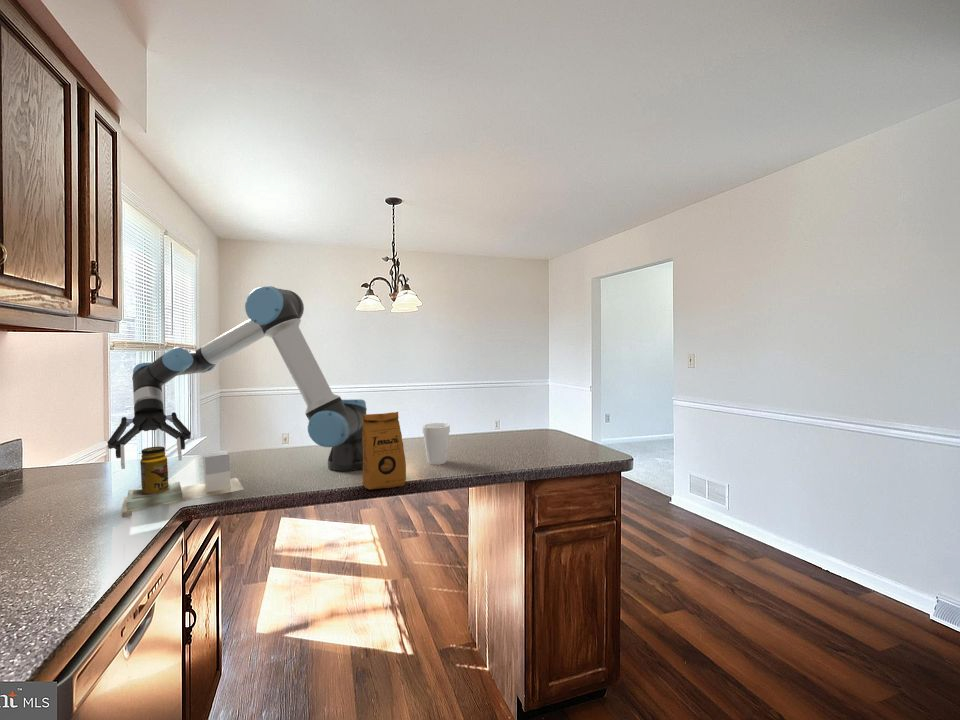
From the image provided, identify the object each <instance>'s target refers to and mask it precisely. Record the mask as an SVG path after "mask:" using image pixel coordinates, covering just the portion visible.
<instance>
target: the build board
mask: <svg viewBox="0 0 960 720" xmlns="http://www.w3.org/2000/svg"><path fill="white" fill-rule="evenodd" d="M168 483H169V485H170V492H168V493H163V494H157V495H150V496H144V497H138V498H132V495H133V490H141V489H142V487H139V488H133V489H128V490H127V496H124V497H123V503H122V511H121V513H122V515H121V516H122V518H123V517H128V516H132V515H133V511H137V510H142V509H148V508H153V507H158V506H163V505H169V504H175V503H180V502H186V501H190V500H196V499H203V498H208V497H212V496H217V495H221V494H228V493H232V492H237V491H238V492H239V491H243V490H244V491H245V488H244V487H243V485H242V483H241V482H240V481H239V479H238V478H237V477H233V478H230V486H231V488H227V489H222V490H216V491H211V492H207V491H206V489H205V484H204V482H203V483H198V484H192V485H191V484H190V485H187V486H181V483H180V481H177V482H176V481H175V482H171V483H170V482H168Z"/></svg>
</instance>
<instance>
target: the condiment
mask: <svg viewBox="0 0 960 720" xmlns="http://www.w3.org/2000/svg"><path fill="white" fill-rule="evenodd" d="M140 459H141V460H140V462H139V464H140V478H141V480H140V482H141V488H142V489H141V490H133V489H132V490H133V495H132V498H138V497H144V496H150V495H157V494H163V493H168V492H170V485H169V483H170V482H169V467H168V457H167V455H166V448H165V447H164V446H158V445H157V446H152V447H145V448H143V449H142V450H141V458H140Z"/></svg>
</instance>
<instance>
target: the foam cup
mask: <svg viewBox="0 0 960 720" xmlns="http://www.w3.org/2000/svg"><path fill="white" fill-rule="evenodd" d="M450 427H451V425H450V424H449V423H445V422H429V423H425V424H423V425H422V434H423V440H424V441H423V442H424V445H425V452H426V460H427V463H428V464H429V465H435V466H436V465H443V464H445V463H447V453H448V445H449V444H448V443H449V438H450V437H449V436H450V432H451V430H450V429H451V428H450Z"/></svg>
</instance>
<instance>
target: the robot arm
mask: <svg viewBox="0 0 960 720" xmlns="http://www.w3.org/2000/svg"><path fill="white" fill-rule="evenodd" d="M304 306H305V305H304V303H303V300H302V298H301V296H299V295H298V294H297V293H296V292H294V291H292V290H289V289H282V288H278V287H275V286H272V285H271V286H269V285H268V286H263V285H262V286H259V287H256V288H254V289H252V290H251V292H250V293H249V294H248V296H247V298H246V300H245V304H244V308H245V310H244V311H245V314H246V316H247V317H248V319H247V320H245V321H244V322H242V323H240V324H238V325H237V326H235V327H233V328H232V329H231V328H230V330H228V331H226V332H224V333H222V334H221V335H219V336H217V337H216V338H215V339H213V340H210V341H209V342H207V343H206V344H203V345H202V346H200V347H198V348H197V349H195V350H193V351H189V350H188V349H186V348H183V347H181V346H175V347H173V348H171V349H169V350H167V351H166V352H164V353H163V354H162V355H161V356H160V357H158V358H157V359H155V360H154V361H152V362H151V361H144V362H142V363H137V364H136V365H135V366H134V367H133V370H132V375H131V376H132V377H131V378H132V392H133V397H132V398H133V414H134V415H133V418H127V416H122V417H121V421H120V423H119V425H118V426H117V428H116V429H115V431H114V432H113V434H112V435H111V436H110V438H109V440H108V441H107V448H108V450H109V449H110V450H112V449H115V457H116V459H120V466H121V470H125V469H126V463H125V459H126V457H125V445H127V444H128V443H129V442H130V441H131V440H132V439H133V438H134V437H136V435H138V434H139V433H141V432H142V431H144V432H149V431H157V430H160V431H161V432H164V433H166V434H167V435H169V436H171V437H172V438H174V439H176V446H177V448H176V449H177V456H178V457H177V458H178V461H179V462H180V461H182V459H183V458H182V454H183V453H182V450H185V448H186V443H185V442H186V440H191V438H192V433H191V431H190V430H189V429H188V428H187V427H186V425H184V423H182V421H181V420H180V419H179V418H178V417H177V413H176V412H171V414H168V415H166V414H165V411H164V410H165V408H164V397H163V396H164V395H163V386H164V385H165V384H167V383H168V382H170V381H171V380H173V379H174V378H176V377H177V376H182V375H183V376H184V375H191V374H203V373H207V372H211V371H212V370H214V369H215V367H216V365H217V364H219V363H221V362H222V361H224V360H226V359H227V358H229V357H232V356H233V355H235V354H236V353H238V352H240V351H242V350H243V349H245V348H247V347H249V346H250V345H253V344H255V343H256V342H258V341H259V340H261V339H262V338H264V337H269V338H271V339H272V340H273V342H274V345H275V347H276V349H277V350H278V352H279V354H280V356H281V358H282V360H283V362H284V363H285V366H286V368H287V369H288V372H289V374H290V375H291V378H292V379H293V381H294V383H295V385H296V387H297V389H298V391H299V392H300V395H301V397H302V399H303V401H304V403H305V405H306V406H307V407H306V409H305V416H306V419H307V420H308V423H307V424H308V425H307V433H308V437H309V438H310V439H311V440H312V441H313V443H315V444H316V445H318V446H320V447H324V448H331V449H330V451H329V454H328V458H327V468H328V469H329V468H330V469H329V470H331V469H333V470H332V471H335V470H339V471H338V472H351V471H358V470H363V445H362V437H363V423H362V417H363V415H367V410H368V409H367V404H366V401H365V400H364V399H357V398H356V399H354V398H353V399H342V397H341V396H340V395H337V394H334V392H333V391H332V389H331V387H330V385H329V383H328V381H327V380H326V377H325V375H324V374H323V372H322V369H321V368H320V366H319V364H318V362H317V360H316V358H315V356H314V354H313V352H312V350H311V348H310V346H309V344H308V343H307V341H306V338H305V337H304V335H303V333H302V330H301V328H300V325H301V324H300V323H301V322H302V321H301V318H302V317H303V315H304V309H305V307H304ZM166 421H169V422H170V423H172V424H173V426H174V427H173V426H171V425H170V424H168V423H167V422H166ZM131 424H133V426H132V427H131V428H130V429H129V430H128V431H127V432H125V431H126V429H127V427H129V426H130V425H131ZM124 432H125V434H124ZM123 434H124V435H123Z"/></svg>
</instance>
